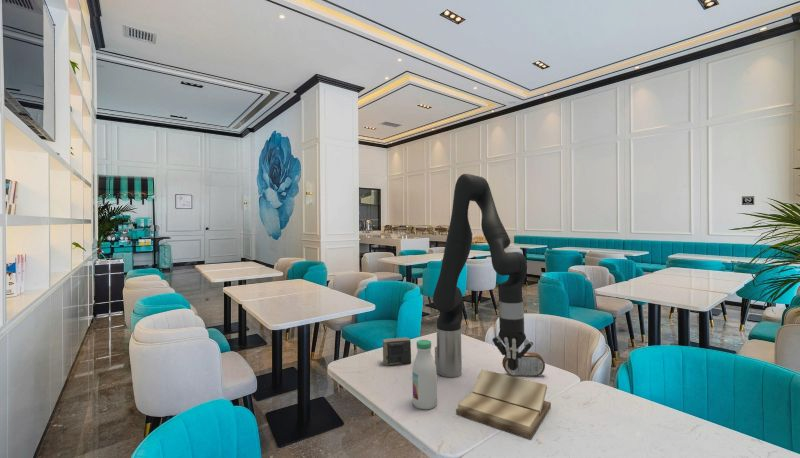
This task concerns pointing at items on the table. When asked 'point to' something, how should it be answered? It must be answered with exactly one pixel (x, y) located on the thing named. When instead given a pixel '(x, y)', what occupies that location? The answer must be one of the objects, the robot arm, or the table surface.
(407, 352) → the camera
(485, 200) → the robot arm
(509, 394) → the oak plank
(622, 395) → the table surface
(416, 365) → the milk bottle
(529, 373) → the tin
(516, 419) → the floor board
